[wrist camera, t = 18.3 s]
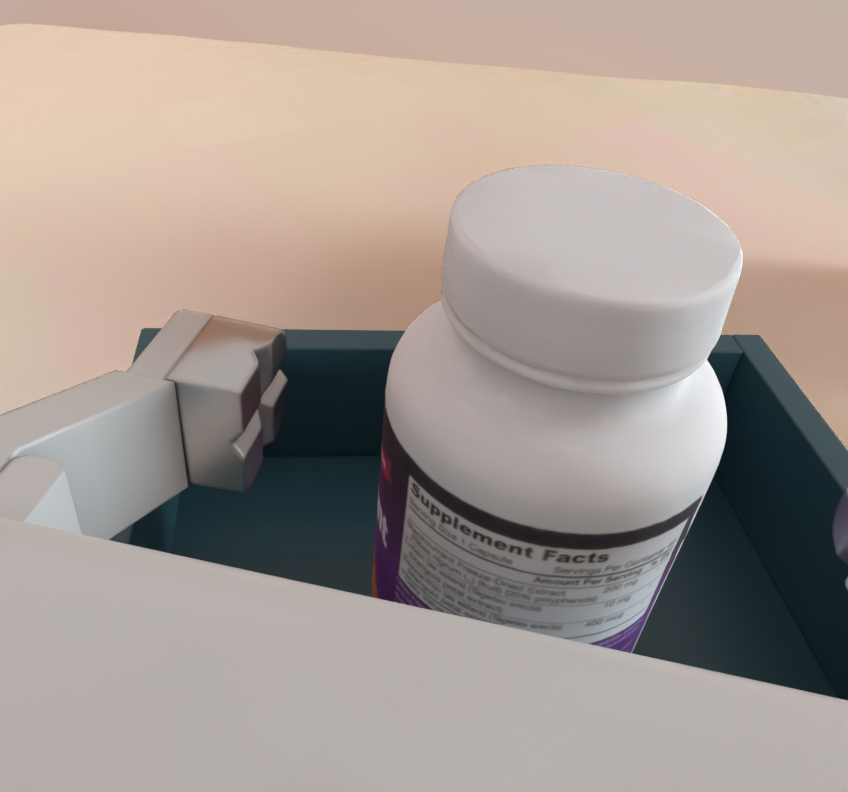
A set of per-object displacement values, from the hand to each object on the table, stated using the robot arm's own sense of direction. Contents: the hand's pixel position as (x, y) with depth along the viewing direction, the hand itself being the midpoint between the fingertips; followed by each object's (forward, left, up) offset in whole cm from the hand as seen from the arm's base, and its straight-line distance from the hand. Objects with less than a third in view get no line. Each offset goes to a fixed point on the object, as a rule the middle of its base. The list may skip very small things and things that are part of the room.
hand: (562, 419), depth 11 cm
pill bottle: (0, -1, -8) cm, 8 cm away
